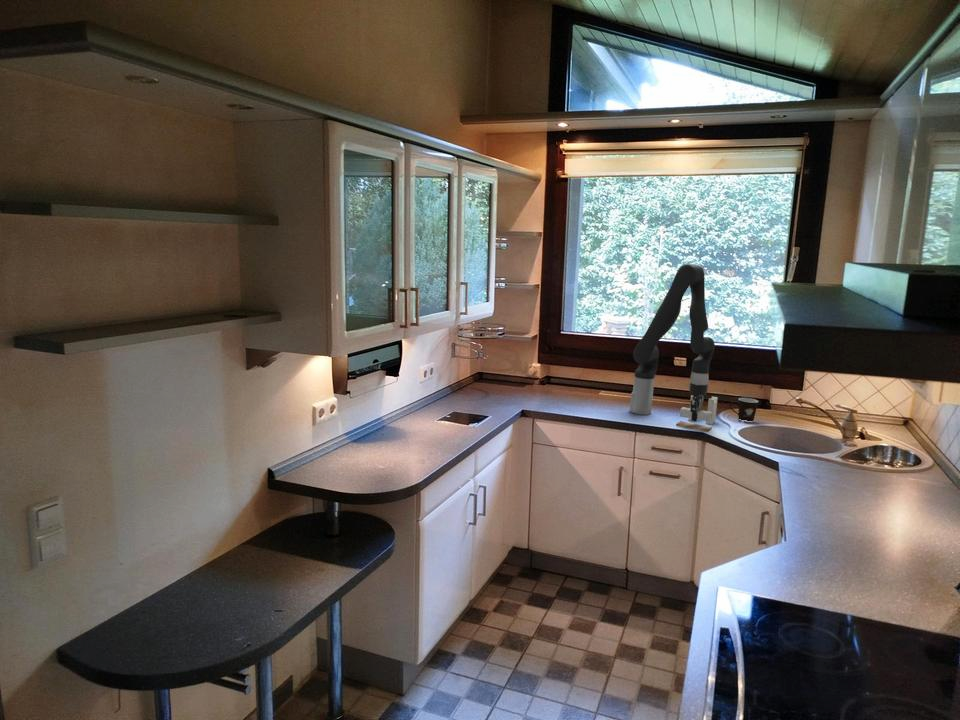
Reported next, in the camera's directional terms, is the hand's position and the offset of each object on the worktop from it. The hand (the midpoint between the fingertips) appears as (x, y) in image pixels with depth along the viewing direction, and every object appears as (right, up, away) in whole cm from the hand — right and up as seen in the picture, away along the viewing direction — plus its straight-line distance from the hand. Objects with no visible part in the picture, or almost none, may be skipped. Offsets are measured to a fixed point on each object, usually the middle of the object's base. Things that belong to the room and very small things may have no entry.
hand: (695, 419), depth 293 cm
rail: (0, +1, 0) cm, 1 cm away
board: (0, -3, +1) cm, 3 cm away
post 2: (+10, -2, +9) cm, 14 cm away
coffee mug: (+27, -2, +16) cm, 31 cm away
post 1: (+3, -1, +14) cm, 14 cm away
